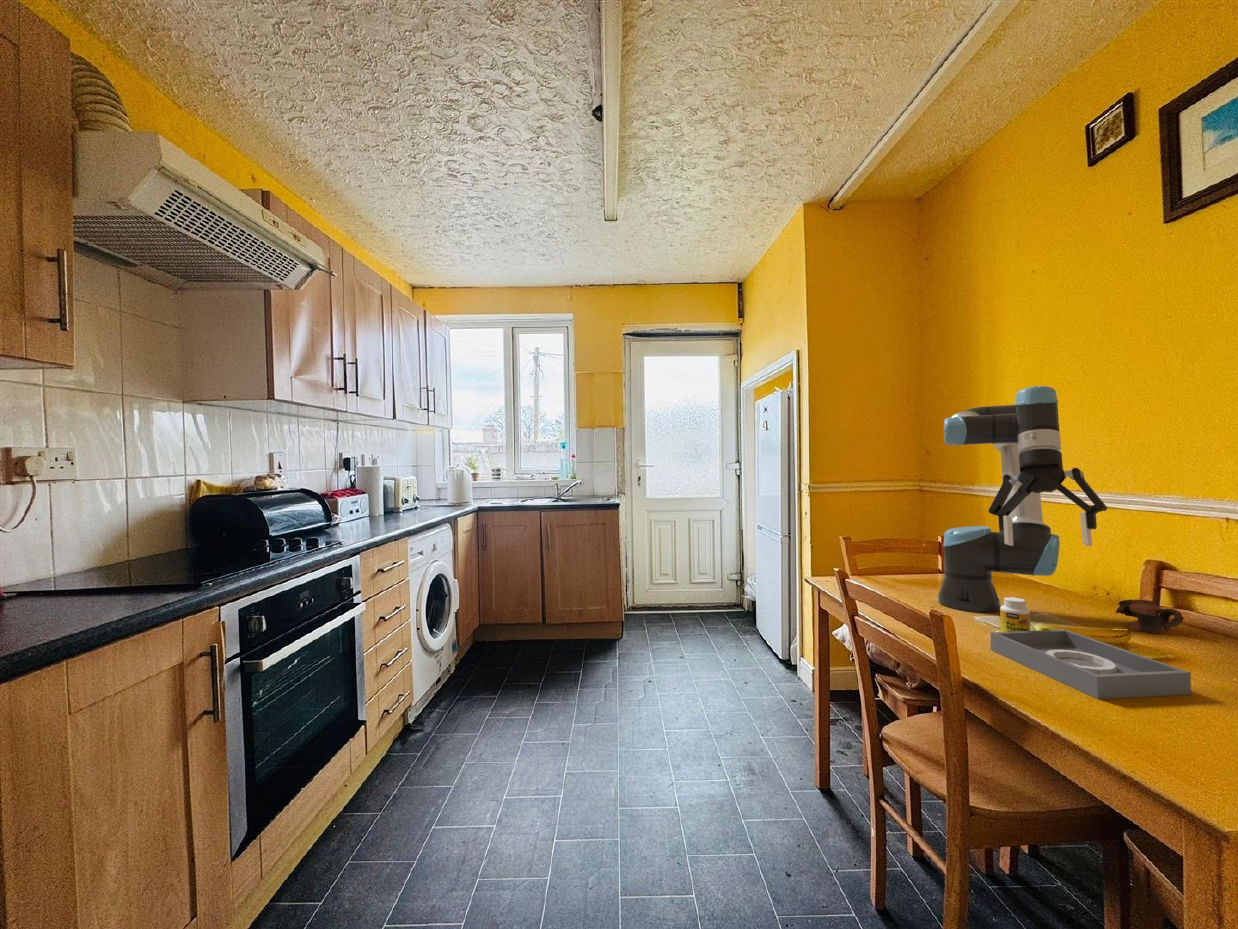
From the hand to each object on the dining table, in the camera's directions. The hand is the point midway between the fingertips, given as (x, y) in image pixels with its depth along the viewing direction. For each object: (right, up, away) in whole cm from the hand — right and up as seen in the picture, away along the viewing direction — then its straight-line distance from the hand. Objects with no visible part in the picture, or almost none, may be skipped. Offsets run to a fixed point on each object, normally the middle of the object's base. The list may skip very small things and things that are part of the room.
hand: (1046, 545), depth 109 cm
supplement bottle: (+1, -25, +9) cm, 27 cm away
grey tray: (+1, -25, -7) cm, 25 cm away
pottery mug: (+40, -24, +17) cm, 50 cm away
